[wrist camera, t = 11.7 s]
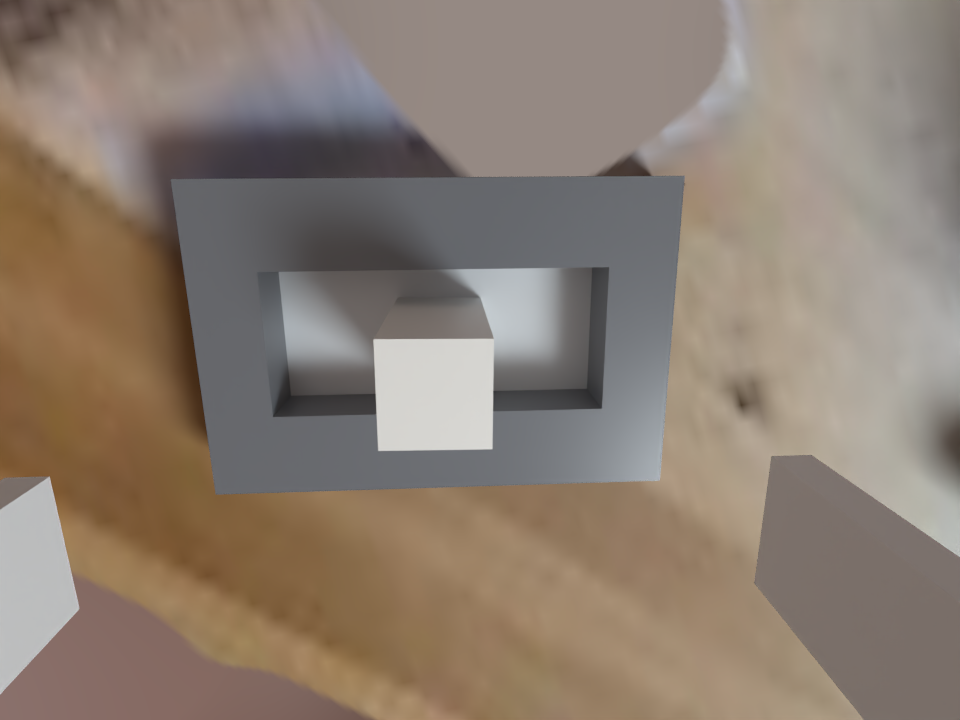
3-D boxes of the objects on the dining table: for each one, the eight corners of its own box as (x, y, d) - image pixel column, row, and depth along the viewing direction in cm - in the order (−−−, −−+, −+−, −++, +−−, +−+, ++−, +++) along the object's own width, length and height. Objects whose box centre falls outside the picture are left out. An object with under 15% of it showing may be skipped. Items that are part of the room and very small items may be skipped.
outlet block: (655, 179, 27) (684, 175, 24) (636, 450, 31) (659, 480, 27) (206, 182, 26) (170, 179, 23) (242, 461, 30) (215, 494, 26)
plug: (479, 376, 29) (492, 449, 20) (400, 376, 28) (377, 450, 20) (480, 297, 28) (494, 338, 19) (397, 297, 27) (373, 339, 19)
